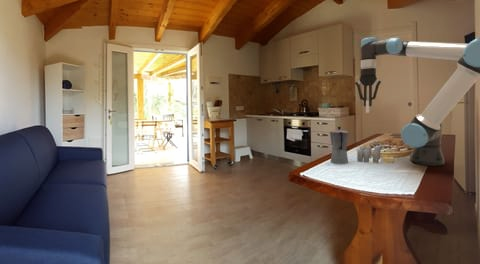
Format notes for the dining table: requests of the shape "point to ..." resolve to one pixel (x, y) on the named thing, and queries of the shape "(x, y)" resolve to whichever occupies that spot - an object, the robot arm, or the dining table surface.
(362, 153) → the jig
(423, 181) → the dining table surface
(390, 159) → the nut
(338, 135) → the moka pot
